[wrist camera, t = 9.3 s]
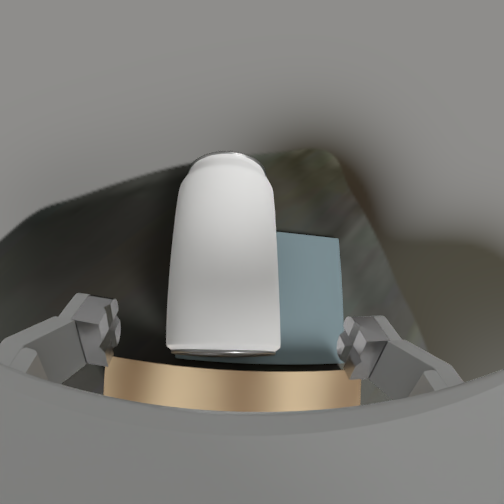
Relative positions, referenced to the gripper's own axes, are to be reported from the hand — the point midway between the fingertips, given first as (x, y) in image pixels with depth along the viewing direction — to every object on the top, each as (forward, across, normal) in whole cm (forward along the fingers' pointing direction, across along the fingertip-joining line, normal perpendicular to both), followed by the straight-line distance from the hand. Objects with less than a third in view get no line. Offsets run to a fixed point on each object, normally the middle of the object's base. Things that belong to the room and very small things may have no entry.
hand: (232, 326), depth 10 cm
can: (+4, 0, +6) cm, 7 cm away
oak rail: (+5, -1, +10) cm, 11 cm away
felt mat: (+10, -3, +5) cm, 11 cm away
